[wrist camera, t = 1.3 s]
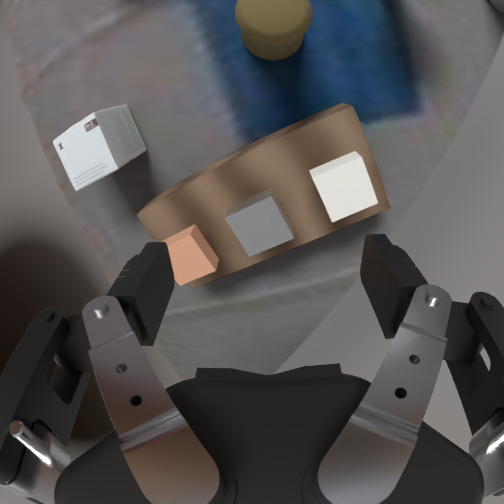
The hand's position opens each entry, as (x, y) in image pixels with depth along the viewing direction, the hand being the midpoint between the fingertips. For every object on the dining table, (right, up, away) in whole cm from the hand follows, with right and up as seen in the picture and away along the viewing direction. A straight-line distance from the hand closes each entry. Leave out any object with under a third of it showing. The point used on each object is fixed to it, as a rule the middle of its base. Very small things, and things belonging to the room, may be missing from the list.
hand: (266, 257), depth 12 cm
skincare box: (-16, +13, +17) cm, 27 cm away
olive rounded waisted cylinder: (+1, +21, +11) cm, 24 cm away
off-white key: (+7, +6, +13) cm, 16 cm away
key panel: (+1, +7, +20) cm, 21 cm away
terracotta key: (-7, 0, +18) cm, 19 cm away
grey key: (0, +3, +15) cm, 16 cm away
